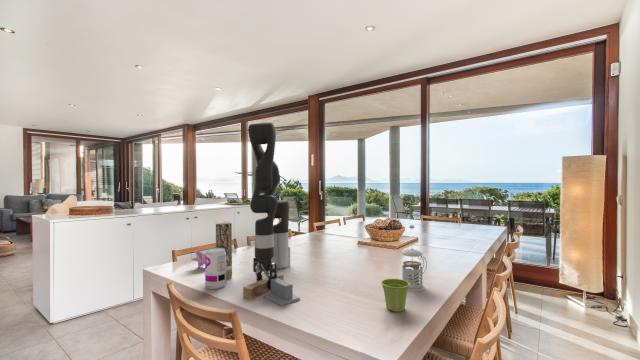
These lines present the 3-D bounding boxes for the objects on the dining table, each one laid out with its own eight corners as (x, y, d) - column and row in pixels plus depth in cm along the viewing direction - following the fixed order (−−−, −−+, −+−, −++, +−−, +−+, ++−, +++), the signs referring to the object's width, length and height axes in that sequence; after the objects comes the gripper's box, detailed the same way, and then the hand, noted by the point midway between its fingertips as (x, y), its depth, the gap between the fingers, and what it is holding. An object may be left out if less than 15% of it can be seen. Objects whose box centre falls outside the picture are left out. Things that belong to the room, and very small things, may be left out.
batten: (276, 282, 136) (276, 273, 136) (283, 284, 134) (283, 274, 134) (243, 298, 119) (243, 287, 119) (251, 299, 117) (251, 289, 117)
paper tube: (227, 281, 138) (227, 223, 138) (213, 280, 139) (212, 222, 139) (234, 276, 144) (234, 221, 144) (221, 275, 146) (220, 220, 146)
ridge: (281, 291, 125) (281, 276, 124) (299, 300, 115) (299, 283, 115) (263, 296, 119) (263, 280, 119) (281, 305, 110) (281, 288, 110)
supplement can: (207, 291, 126) (206, 253, 126) (204, 284, 133) (203, 248, 133) (228, 287, 129) (227, 250, 129) (224, 281, 137) (223, 246, 137)
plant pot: (378, 303, 112) (377, 278, 112) (404, 302, 113) (404, 277, 113) (385, 314, 102) (385, 287, 102) (414, 313, 103) (414, 286, 103)
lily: (221, 270, 157) (221, 251, 162) (204, 266, 148) (204, 246, 152) (202, 276, 161) (202, 257, 166) (184, 272, 151) (185, 253, 156)
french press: (394, 285, 131) (394, 224, 131) (417, 281, 135) (416, 222, 135) (410, 293, 122) (409, 227, 122) (434, 288, 126) (433, 225, 126)
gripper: (282, 247, 123) (282, 288, 123) (263, 241, 134) (263, 280, 134) (265, 249, 119) (265, 293, 119) (247, 244, 130) (247, 284, 130)
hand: (264, 286), depth 126 cm, fingers open, 8 cm apart
